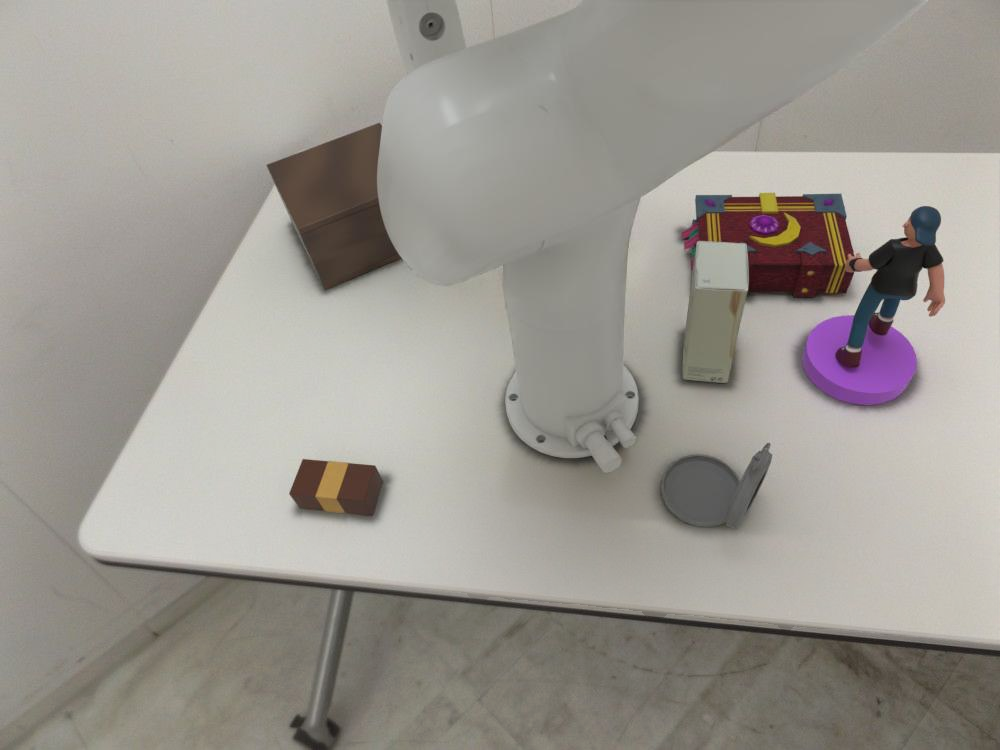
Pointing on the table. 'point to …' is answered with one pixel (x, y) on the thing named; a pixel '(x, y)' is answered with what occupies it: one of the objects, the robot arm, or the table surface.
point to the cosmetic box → (715, 310)
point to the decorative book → (780, 239)
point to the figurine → (878, 319)
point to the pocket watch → (713, 489)
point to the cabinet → (337, 205)
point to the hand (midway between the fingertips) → (450, 153)
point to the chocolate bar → (336, 487)
